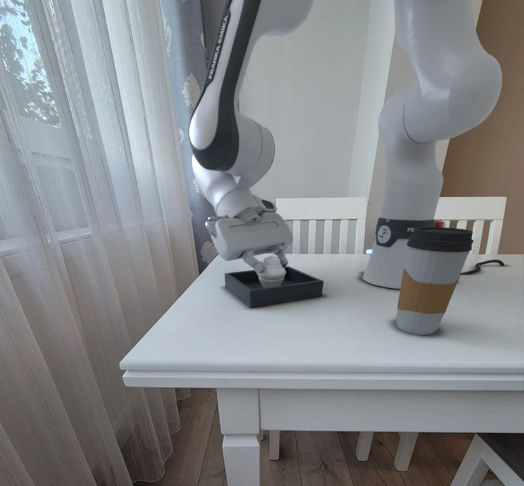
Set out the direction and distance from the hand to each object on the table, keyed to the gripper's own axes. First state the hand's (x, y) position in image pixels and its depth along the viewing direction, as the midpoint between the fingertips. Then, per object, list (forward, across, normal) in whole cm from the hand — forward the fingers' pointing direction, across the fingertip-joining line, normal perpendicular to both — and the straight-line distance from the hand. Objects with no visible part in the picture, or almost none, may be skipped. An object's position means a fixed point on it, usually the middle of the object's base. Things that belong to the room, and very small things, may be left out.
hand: (273, 268), depth 62 cm
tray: (+3, 0, +4) cm, 5 cm away
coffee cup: (+24, +2, -17) cm, 30 cm away
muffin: (+3, 0, +4) cm, 5 cm away
